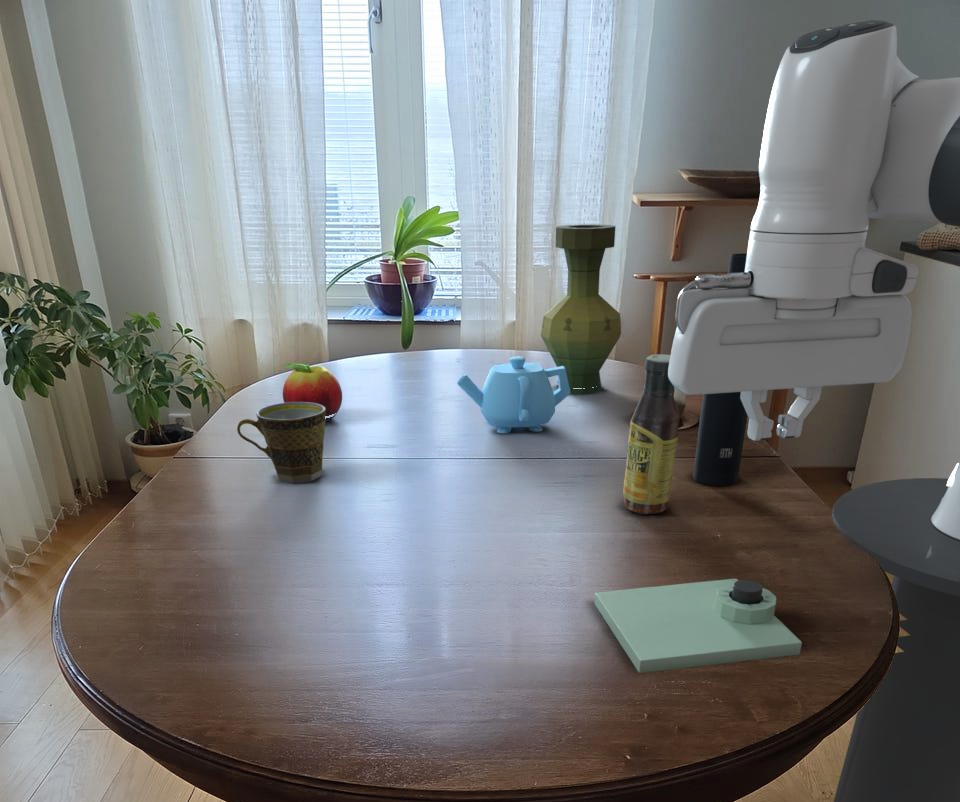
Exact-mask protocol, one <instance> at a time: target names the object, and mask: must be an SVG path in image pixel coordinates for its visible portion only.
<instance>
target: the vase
mask: <svg viewBox="0 0 960 802" xmlns="http://www.w3.org/2000/svg"><path fill="white" fill-rule="evenodd" d="M616 227H617V226H616V225H612V224H596V223H595V224H591V223H590V224H565V225H557V226H556V227H555V248H557V249H562V250H563V252H564V256H565V262H566V267H567V283H566V284H567V285H566V286H567V287H566V288H567V289H566V290H567V291H566V295H565V296H564V297H562V299H560V300H559V301H557V303H556V304H554V305H553V306H552V307H551V308H550V309H548V311H546V312H545V314H544V315H543V317H542V324H541V325H542V326H541V332H540V336H541V340H542V341H543V343H544V344H545V346H546V348H547V350H548V353H549V354H550V356H551V358H552V360H553V362H554V364H555V367H560V366H564V367H565V370H566V374H567V379H568V383H569V388H570V392H571V394H572V395H573V394H574V395H585V394H586V395H588V394H594V393H595V394H596V393H598V392H601V391H602V382H601V373H600V371H601V369H602V368H603V366H604V364H605V363H606V361H607V359H608V357H609V356H610V355H611V353H612V351H613V349H614V348H615V346H616V345H617V342H618V341H619V340H620V338H621V335H622V324H621V323H622V322H621V313H620V312H619V311H617V310H616V308H614V307H613V306H612V305H611V304H610V303H609V302H608V301H607V300H605V298H604V297H602V296H601V295H600V294H599V292H600V275H601V271H600V270H601V267H602V262H603V259H604V255H605V252H606V249H612V248H615V240H616ZM557 383H558V381H557V382H556V388H555V390H557V389H558V388H559V385H557ZM596 386H597V387H596ZM592 387H594V388H592ZM573 388H582V389H573ZM583 388H585V389H583ZM571 394H570V395H571Z"/></svg>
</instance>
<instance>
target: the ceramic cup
mask: <svg viewBox="0 0 960 802" xmlns="http://www.w3.org/2000/svg"><path fill="white" fill-rule="evenodd" d="M255 415H256V418H257V420H254V419H250V418H244V419H241V420H240V421H238V424H237V427H236V432H237V434H238V435H239V436H240V438H242V439H243V440H244V441H246V442H248V443H250V444H252V445H253V446H255V447H256V448H257V449H259V451H262V452H263V453H264V454H266V456H267V457H268V458H269V459H270V460H271V462H272V464H273V467H274V469H275V473H276V475H277V478H278V481H279V482H283V483H287V484H288V483H289V484H301V483H310V482H313V481H314V480H317V479H318V478H321V477H322V476H323V460H324V458H323V457H324V440H325V432H326V422H325V416H326V411H325V407H324V406H322V405H320V404H316V403H310V402H289V403H284V402H281V403H275V404H271V405H267V406H264V407H262V408H259V409H258V410H257V411H256V412H255ZM245 424H249V425H252V427H255V428H256V429H257V431H258V432H260V434H261V435H262V436H263V438H264V441H265V444H266V447H262V446H260V445H259V444H258V443H257V442H255V441H254V440H252V439H250V438H249V437H247V436H245V435H243V434H242V432H241V427H242V426H243V425H245Z"/></svg>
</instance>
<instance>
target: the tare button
mask: <svg viewBox="0 0 960 802" xmlns="http://www.w3.org/2000/svg"><path fill="white" fill-rule="evenodd" d="M763 588H764V587H763V585H762V583H760V582H757V581H755V580H750V579H740V580H739V579H738V581H736V582H735V583H734V585H733V591H732V600H733V601H736V602H738V603H741V604H748V605H752V604H759V603H760V601H761V596H762V590H763Z"/></svg>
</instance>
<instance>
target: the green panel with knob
mask: <svg viewBox="0 0 960 802" xmlns="http://www.w3.org/2000/svg"><path fill="white" fill-rule="evenodd" d="M736 581H739V579H737V578H728V579H727V578H726V579H715V580H706V581H697V582H696V581H695V582H687V583H677V584H667V585H658V586H648V587H639V588H638V587H635V588H628V589H618V590H607V591H606V590H605V591H599V592H598V591H596V592H594V601H593V603H594V606H595V607H596V609H597V610H598V612H599V613H600V615H601V616H602V618H603V620H604V621H605V623H606V624H607V626H608V627H609V629H610V630H611V632H612V633H613V635H614V637H615V638H616V640H617V641H618V643H619V645H620V646H621V647H622V649H623V650H624V652H625V654H626V655H627V657H628V658H629V660H630V661H631V663H632V664H633V666H634V667H635V669H636V671H637V672H638V673H639V674H645V673H653V672H663V671H672V670H680V669H689V668H696V667H706V666H713V665H714V666H715V665H724V664H731V663H732V664H733V663H741V662H748V661H749V662H750V661H759V660H765V659H766V660H767V659H774V658H775V659H776V658H782V657H783V658H784V657H792V656H800V654H801V649H802V645H803V642H802V641H801V640H800V638H798V637H797V636H796V635H795V634H794V633H793V632H792V631H791V630H790V628H788V627H787V626H786V625H785V624H784V623H783V622H782V621H781V620H780V619H778V618H777V616H775V610H776V605H777V596H776V595H775V594H774V593H772V592H771V590H770V589H767V588H764V587H763V590H762V596H761V601H760V603H759V604H752V605H748V604H741V603H738V602H736V601H733V600H732V591H733V585H734V583H735V582H736Z"/></svg>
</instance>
